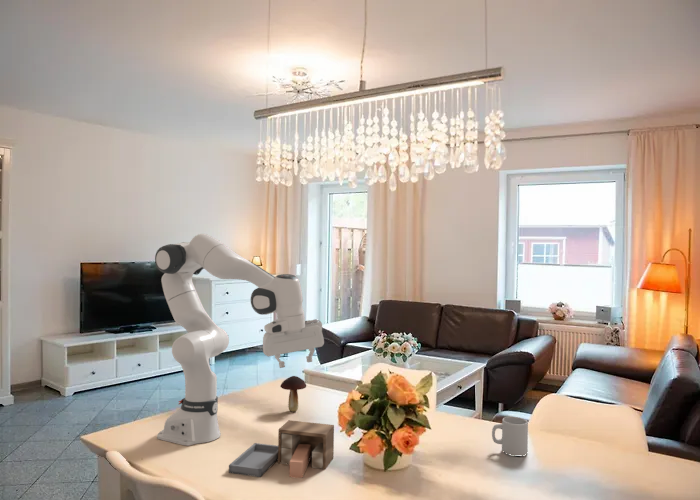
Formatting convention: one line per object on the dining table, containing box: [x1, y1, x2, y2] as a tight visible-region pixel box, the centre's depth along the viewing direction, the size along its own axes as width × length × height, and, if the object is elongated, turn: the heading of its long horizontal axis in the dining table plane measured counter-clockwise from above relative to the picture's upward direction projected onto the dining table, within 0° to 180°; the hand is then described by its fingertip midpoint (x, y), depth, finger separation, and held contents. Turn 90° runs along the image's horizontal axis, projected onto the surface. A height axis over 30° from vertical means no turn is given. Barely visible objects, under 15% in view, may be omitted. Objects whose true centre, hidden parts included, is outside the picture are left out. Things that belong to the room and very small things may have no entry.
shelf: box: [277, 419, 335, 470], centre depth 168 cm, size 16×9×11 cm, turn 76°
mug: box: [491, 416, 529, 455], centre depth 178 cm, size 12×8×11 cm
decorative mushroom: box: [280, 375, 307, 413], centre depth 218 cm, size 11×11×15 cm
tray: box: [228, 442, 278, 478], centre depth 165 cm, size 11×19×2 cm, turn 166°
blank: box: [288, 444, 312, 479], centre depth 162 cm, size 4×14×5 cm, turn 174°
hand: (296, 364), depth 169 cm, fingers open, 8 cm apart
